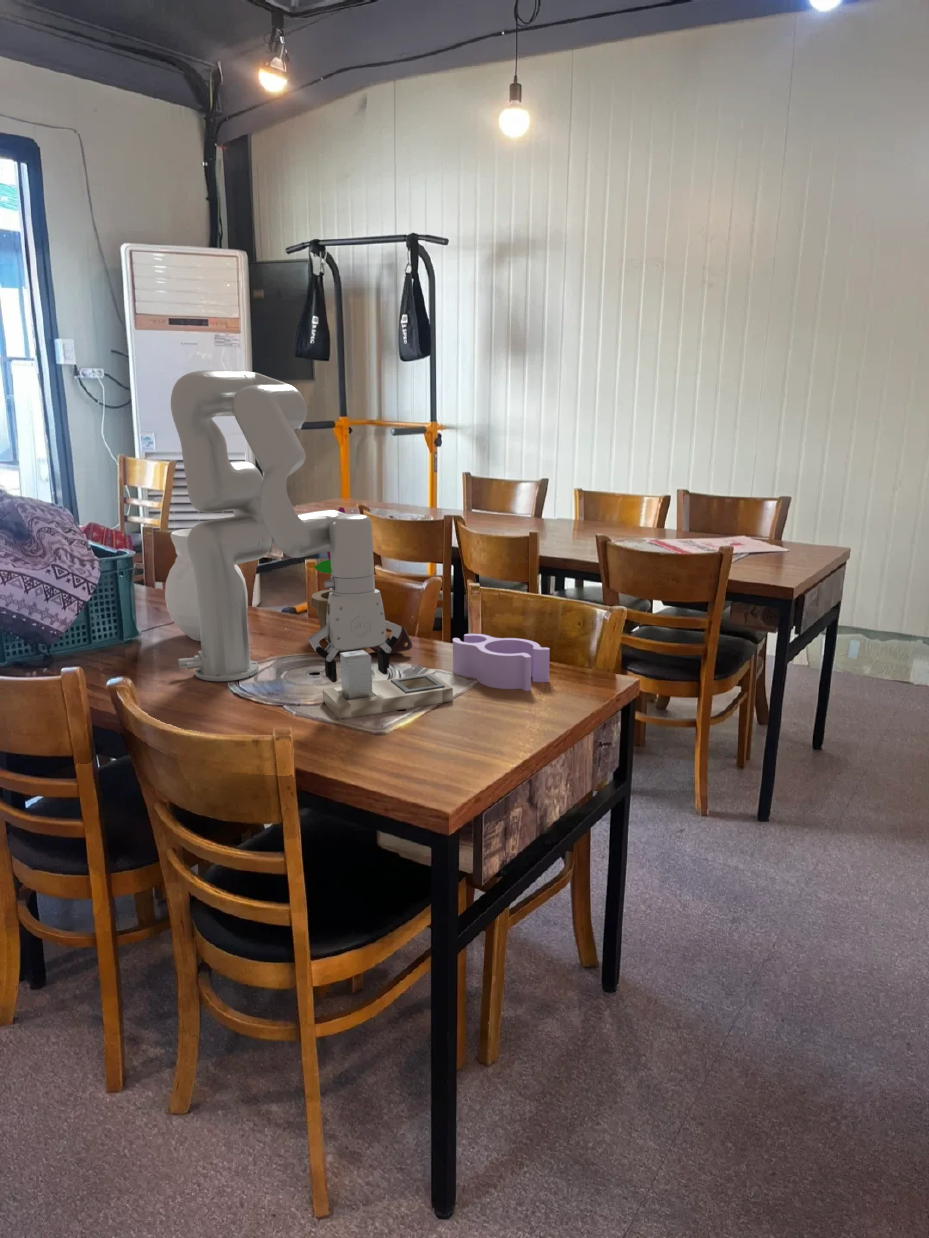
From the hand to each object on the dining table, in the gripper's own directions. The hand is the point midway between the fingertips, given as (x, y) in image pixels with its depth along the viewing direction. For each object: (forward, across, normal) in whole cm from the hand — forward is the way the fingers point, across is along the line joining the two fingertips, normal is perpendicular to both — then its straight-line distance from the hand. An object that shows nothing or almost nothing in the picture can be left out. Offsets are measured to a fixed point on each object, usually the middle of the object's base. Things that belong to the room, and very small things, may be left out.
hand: (358, 676), depth 166 cm
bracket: (+6, +14, +32) cm, 35 cm away
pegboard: (+6, +6, 0) cm, 8 cm away
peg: (+6, 0, 0) cm, 6 cm away
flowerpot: (+6, +12, +46) cm, 48 cm away
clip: (+6, +31, +5) cm, 32 cm away
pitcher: (+5, -16, +61) cm, 64 cm away
